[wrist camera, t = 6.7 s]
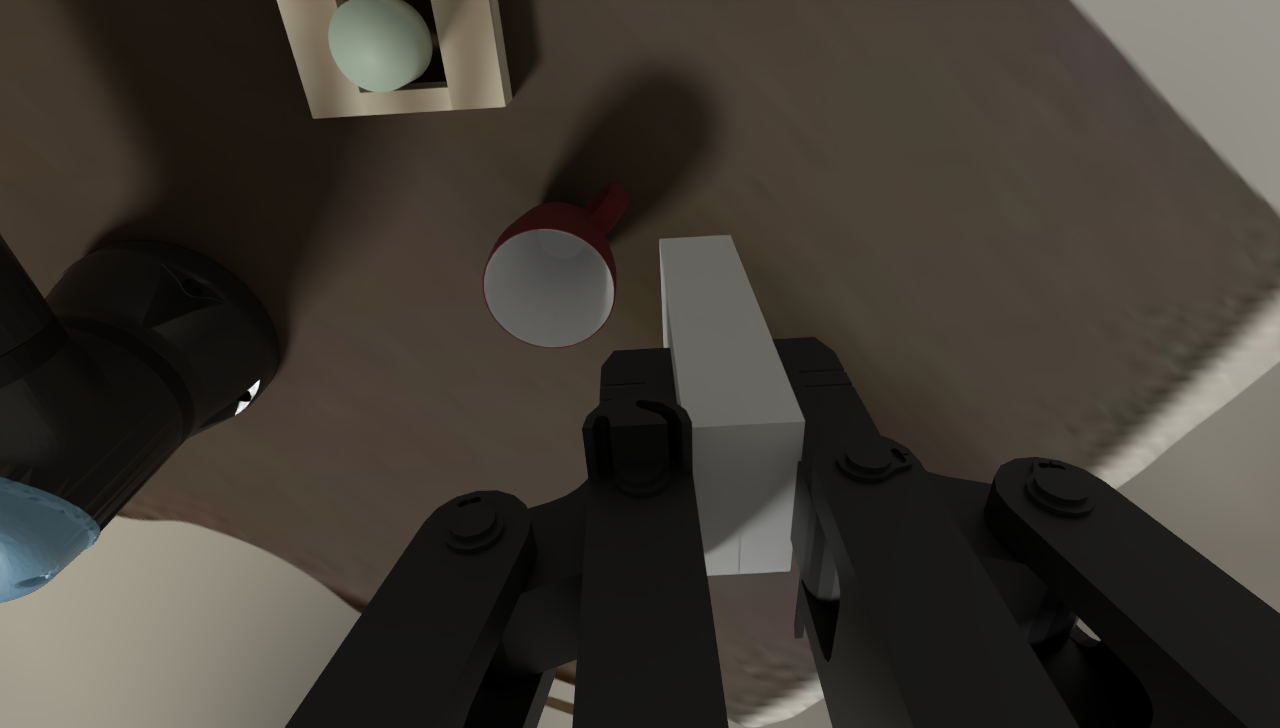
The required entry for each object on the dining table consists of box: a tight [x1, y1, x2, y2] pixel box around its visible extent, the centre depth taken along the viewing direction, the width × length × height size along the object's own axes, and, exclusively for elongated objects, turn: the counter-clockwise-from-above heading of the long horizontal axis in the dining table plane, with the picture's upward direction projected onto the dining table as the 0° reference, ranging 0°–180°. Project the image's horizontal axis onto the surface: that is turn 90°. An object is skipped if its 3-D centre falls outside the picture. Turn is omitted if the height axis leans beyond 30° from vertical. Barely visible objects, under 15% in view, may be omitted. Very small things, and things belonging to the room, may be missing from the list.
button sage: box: [328, 0, 432, 92], centre depth 36 cm, size 5×5×4 cm
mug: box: [483, 183, 629, 348], centre depth 42 cm, size 11×8×10 cm
